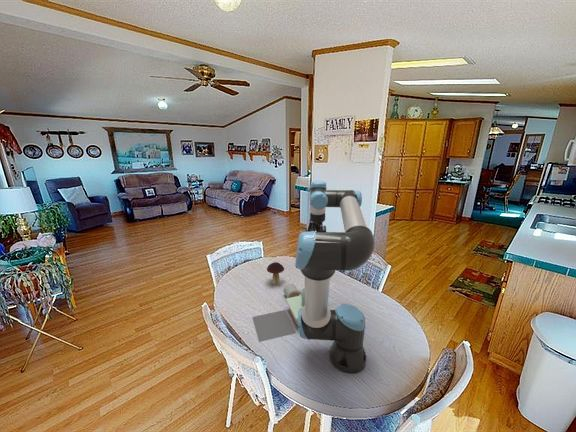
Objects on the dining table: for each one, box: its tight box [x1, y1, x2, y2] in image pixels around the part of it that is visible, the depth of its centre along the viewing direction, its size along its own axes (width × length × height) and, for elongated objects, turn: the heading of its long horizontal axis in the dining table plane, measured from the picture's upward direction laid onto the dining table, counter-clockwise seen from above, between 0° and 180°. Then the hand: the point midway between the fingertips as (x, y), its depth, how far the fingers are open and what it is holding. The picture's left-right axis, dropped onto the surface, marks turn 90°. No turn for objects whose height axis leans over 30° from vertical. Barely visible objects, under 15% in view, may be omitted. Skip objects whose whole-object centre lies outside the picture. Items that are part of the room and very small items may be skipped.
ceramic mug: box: [283, 283, 302, 298], centre depth 150 cm, size 11×8×8 cm
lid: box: [285, 288, 305, 321], centre depth 132 cm, size 17×17×9 cm
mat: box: [251, 309, 297, 343], centre depth 129 cm, size 18×18×1 cm
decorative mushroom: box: [266, 261, 285, 286], centre depth 163 cm, size 11×11×15 cm
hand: (316, 252), depth 133 cm, fingers open, 13 cm apart
